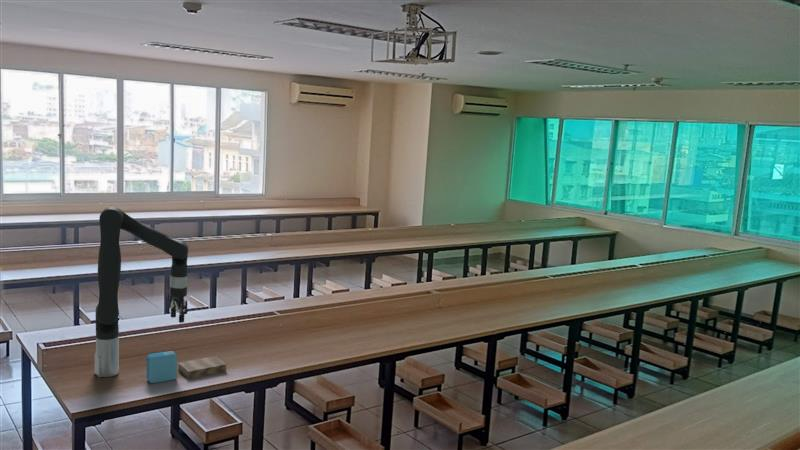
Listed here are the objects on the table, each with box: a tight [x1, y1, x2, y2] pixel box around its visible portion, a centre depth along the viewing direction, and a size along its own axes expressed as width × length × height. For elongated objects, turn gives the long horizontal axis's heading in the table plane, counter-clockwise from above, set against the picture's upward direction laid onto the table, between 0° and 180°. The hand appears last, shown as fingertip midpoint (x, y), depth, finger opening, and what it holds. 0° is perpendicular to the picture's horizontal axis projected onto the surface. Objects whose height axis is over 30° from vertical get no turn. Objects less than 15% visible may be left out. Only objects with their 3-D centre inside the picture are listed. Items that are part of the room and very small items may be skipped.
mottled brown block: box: [177, 355, 227, 380], centre depth 300 cm, size 18×12×4 cm, turn 129°
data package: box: [146, 350, 178, 384], centre depth 287 cm, size 12×4×12 cm, turn 124°
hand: (177, 319), depth 296 cm, fingers open, 8 cm apart
